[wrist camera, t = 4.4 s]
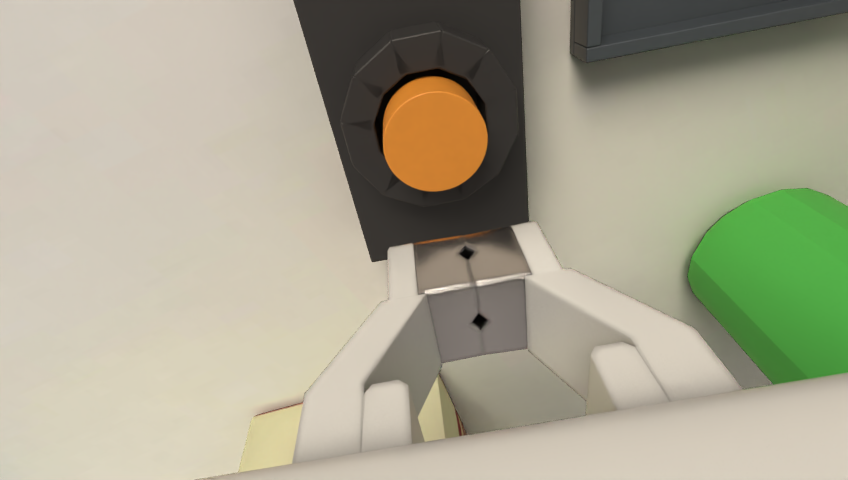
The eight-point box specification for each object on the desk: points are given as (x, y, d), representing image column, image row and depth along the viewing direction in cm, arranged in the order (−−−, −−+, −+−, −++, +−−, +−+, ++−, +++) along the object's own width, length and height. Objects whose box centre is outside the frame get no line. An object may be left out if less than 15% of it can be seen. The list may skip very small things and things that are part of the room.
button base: (287, -74, 17) (254, -80, 12) (495, -117, 16) (533, -139, 12) (373, 230, 24) (370, 288, 20) (514, 204, 24) (541, 258, 20)
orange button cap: (373, 86, 16) (371, 103, 14) (472, 66, 16) (483, 81, 14) (393, 175, 18) (394, 200, 16) (481, 159, 18) (492, 182, 16)
